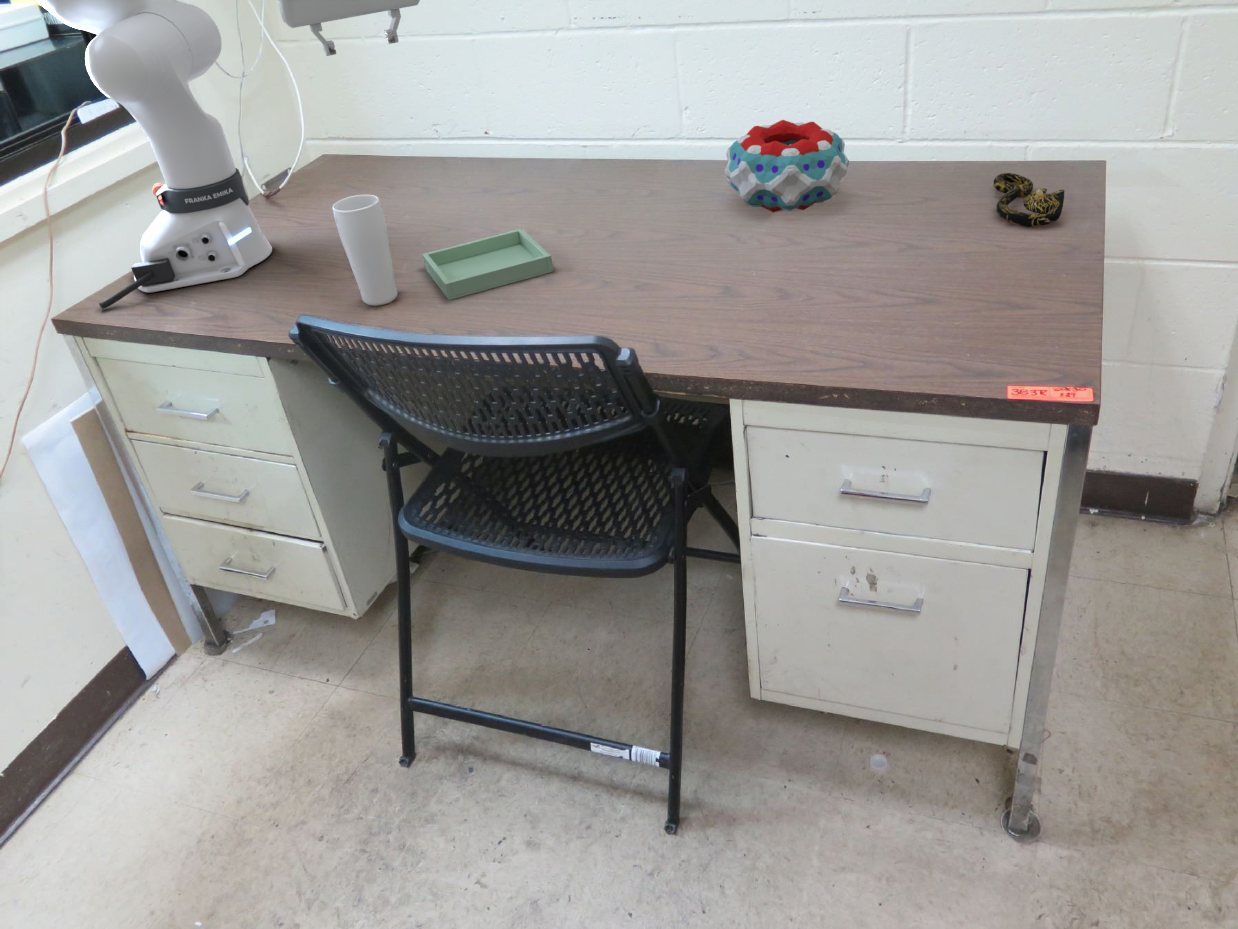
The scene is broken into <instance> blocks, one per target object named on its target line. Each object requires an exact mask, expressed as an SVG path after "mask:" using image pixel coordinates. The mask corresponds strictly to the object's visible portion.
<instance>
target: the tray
mask: <svg viewBox="0 0 1238 929" xmlns="http://www.w3.org/2000/svg"><path fill="white" fill-rule="evenodd" d="M421 255H422V259H423V264H424V269H425V271H426V272H427V273H428V275H429V276H430V277H431V278H432V280H433V281H434V283H435V284H436V286H438V288H439V289H440V291H441V292H442V293H443V294H444V296H445V297H446V299H447V300H448V301H451V300H454V299H458V298H462V297H465V296H470V295H473V294H476V293H480V292H484V291H487V290H492V289H494V288H498V287H503V286H506V285H509V284H514V283H516V282H521V281H524V280H527V279H531V278H535V277H539V276H542V275H546V274H549V273H550V274H551V273H553V272H554V266H553V261H552V260H553V259H552V255H551V254H550V253H548V251H546V249H545V248H543V247H542V246H541V245H540V244H539V243H538V242H537V241H536V240H535V239H534V238H533V237H531V236H530V235H529V234H528V233H527V232H526V231H525V230H524V229H523V228H518V229H514V230H511V231H507V232H503V233H499V234H495V235H491V236H488V237H483V238H479V239H476V240H471V241H468V242H463V243H460V244H456V245H453V246H449V247H445V248H441V249H437V250H433V251H429V252H425V253H422V254H421Z"/></svg>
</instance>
